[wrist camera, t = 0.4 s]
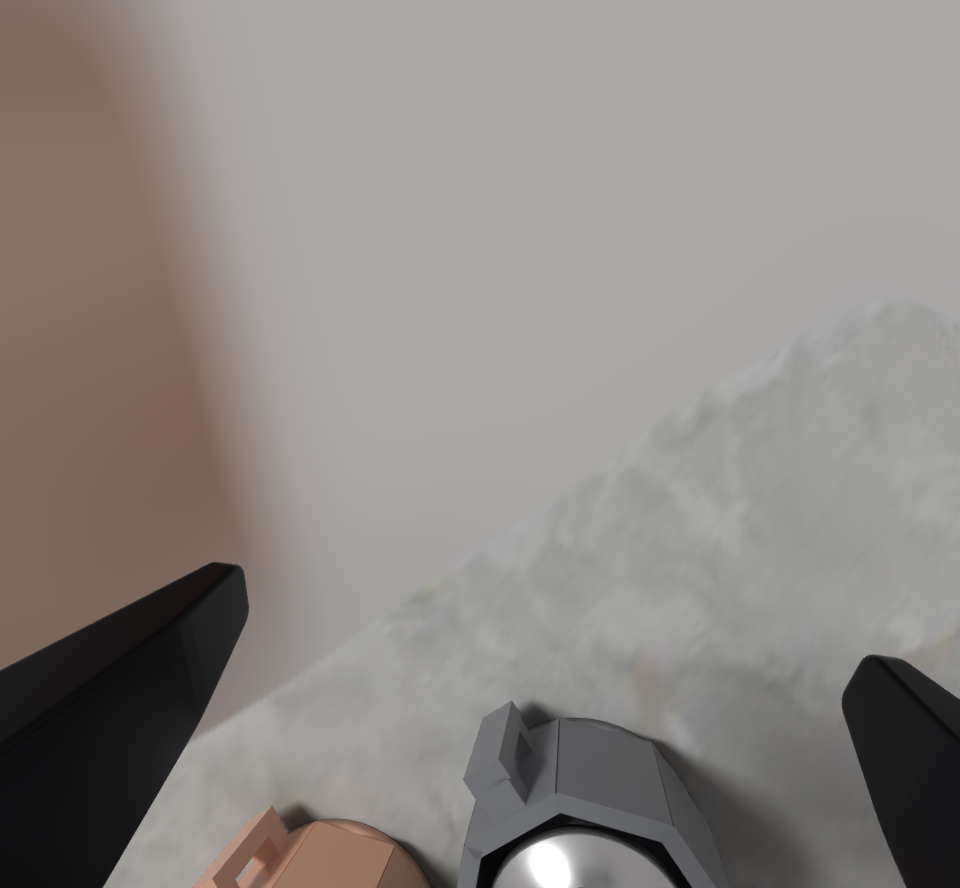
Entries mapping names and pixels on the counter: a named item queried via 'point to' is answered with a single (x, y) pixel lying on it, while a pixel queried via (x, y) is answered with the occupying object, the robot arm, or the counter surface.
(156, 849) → the counter surface
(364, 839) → the bowl
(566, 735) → the grey octagonal cup
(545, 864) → the coffee tamper
